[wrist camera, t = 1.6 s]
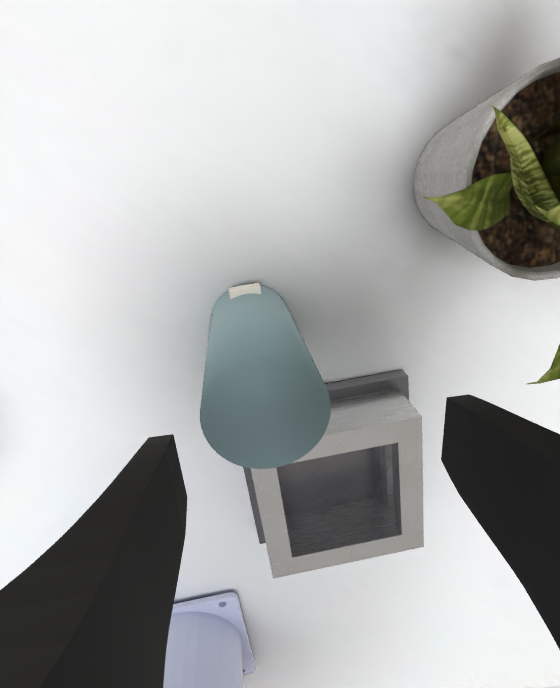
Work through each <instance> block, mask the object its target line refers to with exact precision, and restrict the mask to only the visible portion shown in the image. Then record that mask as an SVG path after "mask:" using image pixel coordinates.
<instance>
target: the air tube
mask: <svg viewBox="0 0 560 688" xmlns="http://www.w3.org/2000/svg"><path fill="white" fill-rule="evenodd" d="M330 413H331V402H330V397H329V393H328V390H327V388H326V386H325V384H324V382H323V380H322V378H321V376H320V373H319V371H318V369H317V367H316V365H315V363H314V361H313V359H312V357H311V355H310V353H309V351H308V349H307V347H306V345H305V343H304V341H303V339H302V337H301V334H300V332H299V330H298V328H297V326H296V324H295V322H294V320H293V318H292V316H291V314H290V312H289V310H288V308H287V306H286V304H285V302H284V301H283V299H282V298H281V297H280V296H279V295H278V294H277V293H276V292H275V291H273V290H272V289H270V288H268V287H266V286H263V285H260V284H259V283H254V284H243V285H239V286H236V287H231V288H229V290H228V291H227V292H225V293H224V294H223V295H222V296H221V297H220V298H219V299H218V301H217V302H216V304H215V306H214V308H213V311H212V314H211V322H210V330H209V339H208V347H207V356H206V365H205V373H204V382H203V390H202V399H201V408H200V422H201V427H202V430H203V433H204V436H205V437H206V439H207V441H208V443H209V444H210V445H211V447H212V448H213V449H214V450H215V451H216V452H217V453H218V454H219V455H221V456H222V457H223V458H225V459H226V460H228V461H230V462H232V463H234V464H237V465H240V466H243V467H247V468H254V469H270V468H276V467H280V466H284V465H287V464H290V463H292V462H294V461H296V460H298V459H300V458H301V457H303V456H305V455H306V454H307V453H308V452H310V451H311V450H312V449H313V448H314V447H315V446H316V445H317V444H318V442H319V441H320V440H321V438H322V437H323V435H324V433H325V431H326V429H327V426H328V423H329V420H330Z"/></svg>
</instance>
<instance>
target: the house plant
mask: <svg viewBox="0 0 560 688" xmlns="http://www.w3.org/2000/svg"><path fill="white" fill-rule="evenodd" d="M414 195H415V200H416V205H417V207H418V209H419V211H420V213H421V215H422V217H423V218H424V219H425V220H426V221H427V222H428V223H429V224H430V225H431V226H432V227H434V228H435V229H437V230H438V231H440V232H441V233H443V234H444V235H446V236H448V237H449V238H451V239H452V240H454V241H455V242H457V243H458V244H460V245H461V246H463V247H464V248H466V249H467V250H469V251H470V252H472V253H474V254H475V255H477V256H478V257H480V258H481V259H483V260H484V261H486V262H487V263H489V264H490V265H492V266H494V267H495V268H497V269H499V270H501V271H503V272H505V273H507V274H508V275H510V276H512V277H517V278H523V279H529V280H534V281H535V280H544V279H553V278H559V277H560V58H558V59H555V60H553V61H550V62H547V63H545V64H542V65H540V66H538V67H537V68H535V69H534V70H532V71H530V72H529V73H527V74H526V75H524V76H523V77H521V78H520V79H518V80H516V81H515V82H513V83H512V84H510V85H509V86H507V87H506V88H504V89H502V90H501V91H499V92H498V93H496V94H495V95H493V96H492V97H490V98H488V99H487V100H485V101H484V102H482V103H481V104H479V105H478V106H476V107H474V108H473V109H471V110H470V111H468V112H467V113H465V114H464V115H462V116H460V117H459V118H457V119H456V120H454V121H453V122H451V123H450V124H448V125H447V126H445V127H444V128H443V129H441V130H440V131H438V132H437V133H436V134H435V135H434V137H433V138H432V139H431V140H430V141H429V142H428V143H427V145H426V146H425V148H424V150H423V152H422V154H421V156H420V158H419V159H418V163H417V166H416V170H415V174H414ZM556 379H560V345H559V347H558V350H557V353H556V355H555V358H554V360H553V363H552V365H551V368H550V369H549V370H548V371H547V372H546V373H545V374H544V375H543V376H542V377H541V378H540V379H539V380H538V381H537V382H533V383H528V384H536V383H543V382H547V381H552V380H556Z"/></svg>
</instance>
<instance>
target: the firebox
mask: <svg viewBox="0 0 560 688" xmlns="http://www.w3.org/2000/svg"><path fill="white" fill-rule="evenodd" d="M325 386H326V388H327V390H328V393H329V397H330V402H331V413H330V420H329V423H328V426H327V429H326V431H325V433H324V435H323V437H322V438H321V440H320V441H319V442H318V444H317V445H316V446H315V447H314V448H313V449H312V450H311V451H310V452H308V453H307V454H306V455H305V456H303V457H301V458H300V459H298V460H296V461H294V462H292V463H290V464H287V465H284V466H280V467H276V468H270V469H254V468H247V467H244V472H245V477H246V481H247V486H248V491H249V495H250V500H251V505H252V509H253V514H254V519H255V523H256V528H257V533H258V537H259V542H260V544H262V543H266V546H267V550H268V555H269V560H270V565H271V570H272V575H273V578H277V577H282V576H287V575H292V574H296V573H301V572H306V571H311V570H315V569H320V568H325V567H330V566H334V565H339V564H344V563H349V562H353V561H358V560H363V559H368V558H372V557H377V556H382V555H387V554H391V553H396V552H401V551H406V550H410V549H415V548H420V547H424V541H423V466H422V416H421V415H420V414H419V413H418V412H417V410H416V409H415V408H414V407H413V406H412V404H411V403H410V402H409V391H408V375H407V374H406V373H405V372H404V371H403V370H398V371H392V372H387V373H382V374H376V375H371V376H365V377H360V378H354V379H349V380H343V381H338V382H333V383H327V384H325Z"/></svg>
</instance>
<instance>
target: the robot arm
mask: <svg viewBox="0 0 560 688" xmlns="http://www.w3.org/2000/svg"><path fill="white" fill-rule="evenodd" d="M441 460H442V462H443V464H444V466H445V468H446V470H447V472H448V474H449V476H450V478H451V480H452V482H453V484H454V486H455V487H456V489H457V491H458V493H459V494H460V496H461V497H462V499H463V500H464V502H465V503H466V505H467V506H468V508H469V509H470V510H471V512H472V513H473V515H474V516H475V518H476V519H477V520H478V522H479V523H480V525H481V526H482V528H483V529H484V530H485V532H486V533H487V535H488V536H489V537H490V539H491V540H492V542H493V543H494V544H495V546H496V547H497V549H498V550H499V551H500V553H501V554H502V556H503V557H504V558H505V560H506V561H507V563H508V564H509V565H510V567H511V568H512V570H513V571H514V573H515V574H516V576H517V577H518V579H519V580H520V582H521V583H522V585H523V586H524V588H525V590H526V591H527V593H528V595H529V596H530V598H531V600H532V602H533V603H534V605H535V607H536V608H537V610H538V612H539V614H540V615H541V617H542V619H543V621H544V622H545V624H546V626H547V627H548V629H549V631H550V633H551V634H552V636H553V638H554V640H555V642H556V644H557V645H558V647H559V649H560V434H558V433H555V432H553V431H551V430H549V429H546V428H544V427H542V426H540V425H537V424H535V423H533V422H531V421H529V420H526V419H524V418H522V417H520V416H518V415H515V414H513V413H511V412H509V411H507V410H505V409H502V408H500V407H498V406H496V405H493V404H491V403H489V402H487V401H484V400H482V399H479V398H477V397H474V396H471V395H462V396H455V397H447V401H446V412H445V423H444V435H443V446H442V457H441ZM186 512H187V494H186V489H185V485H184V480H183V476H182V471H181V467H180V463H179V458H178V454H177V449H176V445H175V440H174V436H173V434H172V435H164V436H157V437H150V438H148V439H147V441H146V442H145V443H144V444H143V445H142V446H141V448H140V449H139V450H138V451H137V453H136V454H135V455H134V456H133V457H132V459H131V460H130V461H129V462H128V464H127V465H126V466H125V467H124V469H123V470H122V471H121V472H120V473H119V475H118V476H117V477H116V478H115V479H114V481H113V482H112V483H111V484H110V485H109V486H108V488H107V489H106V490H105V491H104V492H103V493H102V495H101V496H100V497H99V498H98V499H97V500H96V501H95V502H94V503H93V504H92V506H91V507H90V508H89V509H88V510H87V511H86V512H85V513H84V514H83V515H82V516H81V517H80V518H79V519H78V521H77V522H76V523H75V524H74V525H73V526H72V527H71V528H70V529H69V530H68V531H67V532H66V533H65V534H64V535H63V536H62V537H61V538H60V539H59V540H58V541H57V542H56V543H55V544H53V545H52V546H51V547H50V548H49V549H48V550H47V551H46V552H45V553H44V554H43V555H41V556H40V557H39V558H38V559H37V560H36V561H35V562H34V563H33V564H31V565H30V566H29V567H28V568H27V569H26V570H25V571H23V572H22V573H21V574H20V575H19V576H17V577H16V578H15V579H14V580H12V581H11V582H10V583H9V584H8V585H6V586H5V587H4V588H3V589H1V590H0V688H243V675H245V674H249V673H252V672H253V671H254V670H255V661H254V657H253V654H252V650H251V646H250V642H249V638H248V634H247V630H246V627H245V623H244V619H243V615H242V611H241V607H240V603H239V599H238V596H237V594H235V593H233V592H228V593H224V594H219V595H214V596H210V597H205V598H200V599H195V600H191V601H186V602H181V603H176V604H174V598H175V592H176V586H177V581H178V575H179V569H180V563H181V557H182V552H183V546H184V539H185V530H186Z"/></svg>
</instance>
